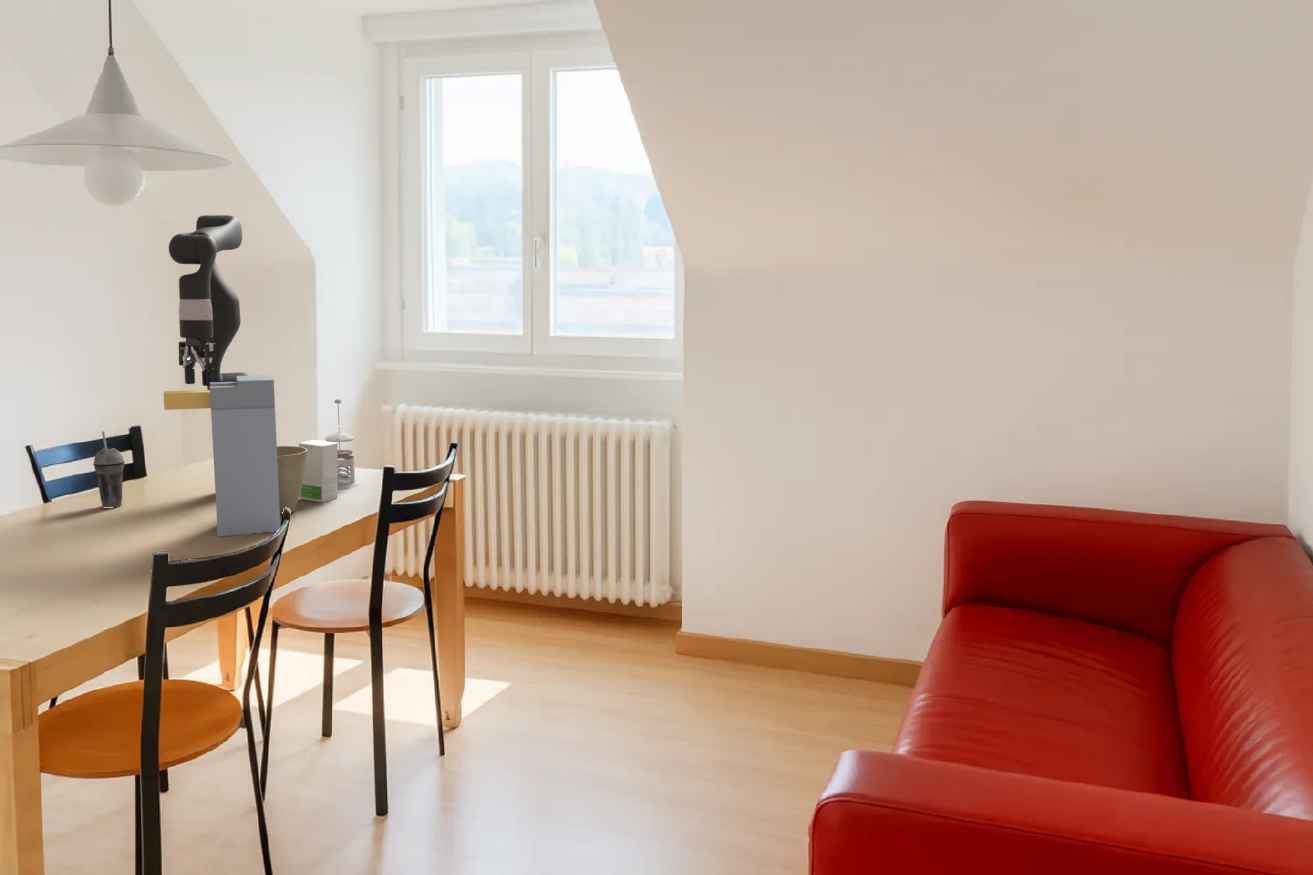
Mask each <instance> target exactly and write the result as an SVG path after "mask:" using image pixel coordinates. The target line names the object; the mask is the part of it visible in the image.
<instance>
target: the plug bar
mask: <svg viewBox="0 0 1313 875" xmlns="http://www.w3.org/2000/svg"><path fill="white" fill-rule="evenodd" d="M163 406H164V410H165V411H170V410H193V409H195V410H196V409H197V410H199V409H211V401H210V390H207V389H202V390H201V389H200V390H199V389H198V390H196V389H195V390H167V391H163Z"/></svg>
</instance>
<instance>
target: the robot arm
mask: <svg viewBox="0 0 1313 875" xmlns="http://www.w3.org/2000/svg"><path fill="white" fill-rule="evenodd" d="M195 224H196V225H195V227H196V229H195V230H194V231H193V232H185V233H184V232H183V233H177V234H175V235H174V236H173V237H172V238H171V240H170V241H169V244H168V253H169V255H170V258H171V259H172V261H174V262H175V263H177V264H180V265H199V268H198V270H197V271H195V272H193V273H188V274H187V273H186V274H184V275H183V274H182V275H181V276H180V277H179V279H178V292H179V293H178V294H179V295H178V296H179V302H178V303H179V305H178V317H179V318H178V320H179V325H178V326H179V336H180V338H182V339H185V341H184V340H183V341H179V342H178V365H179V366H182V369H184V383H185V384H186V385H194V384H195V383H196V378H195V377H196V375H195V374H196V373H195V370H196V369H195V366H196V363H198V364H199V366H200V369H201V382H202V383H201V384H202V386H203V387H207V388H206V390H210V383H213V382H237V376H249V375H248V374H247V373H246V372H222V373H221V366H222V362H223V358H224V356H225V353H226V352H227V350H228V348H229V346H230V345H231V343H232V341H233V339H234V338H235V336H236V335H237V333H238V332H239V328H240V327H241V322H242V321H241V320H242V319H241V310H240V308H241V306H240V299H239V296H238V295H237V293H236V291H235V290H234V289H233V287H232V286H231V285H230V283H229V282H228V281H227V279H226V278H225V277H224V275H223V274H222V272H221V270H220V269H219V267H218V265H217V263H216V257H217V254H218V253H219V252H222V251H233V250H236V249H238V248H240V246H241V244H242V243H243V242H242V241H243V230H242V224H241V222H240V220H239V218H237V217H236V216H234V215H229V214H225V215H223V214H214V215H211V214H210V215H209V214H208V215H205V214H204V215H200V216H198V218H197V219H196V223H195Z"/></svg>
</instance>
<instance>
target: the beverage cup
mask: <svg viewBox="0 0 1313 875" xmlns="http://www.w3.org/2000/svg"><path fill="white" fill-rule="evenodd" d="M101 434H102V439H103V446H104V447H102V449H99V451H97V453H96V454H95V456H94V459H93V466H94V468H93V469H94V471H95V473H96V478H97V485H98V491H99V497H100V502H101V506H102V508H103V507H119V508H121V507H122V506H123V505H122V504H123V503H122V502H123V481H124V480H123V477H124V476H123V474H124V469H125V460H124V457H123V456H124V455H123V454H122V453H121V452H120V450H118V449H116V448H113V447H107V440H106V435H105V434H106V433H105V431H101ZM120 506H121V507H120Z"/></svg>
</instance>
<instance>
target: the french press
mask: <svg viewBox="0 0 1313 875" xmlns="http://www.w3.org/2000/svg"><path fill="white" fill-rule="evenodd" d="M334 404H337V416H338V424H340V407H339V406H340V404H342V400H341V399H339V398H336V399H334ZM340 430H341V429H340V428H338V431H337V432H333V433H331V434H329V435H327V436H326V437H324V441H328V442H334V443H338V445H339V449H337V490H345V489H344V488H347V489H352V488H351V487H353V488H355V487H354V486H356V487H358V486H359V483H358V482H357V481H356V478H355V475H356V474H355V456H354V455H352V454H353V453H354V452H353V450H350V449H341V443H342V442H343V443H346V442H352V441H354V439H355V437H354V436H352V435H350V434H348V433H346V432H341V431H340Z"/></svg>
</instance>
